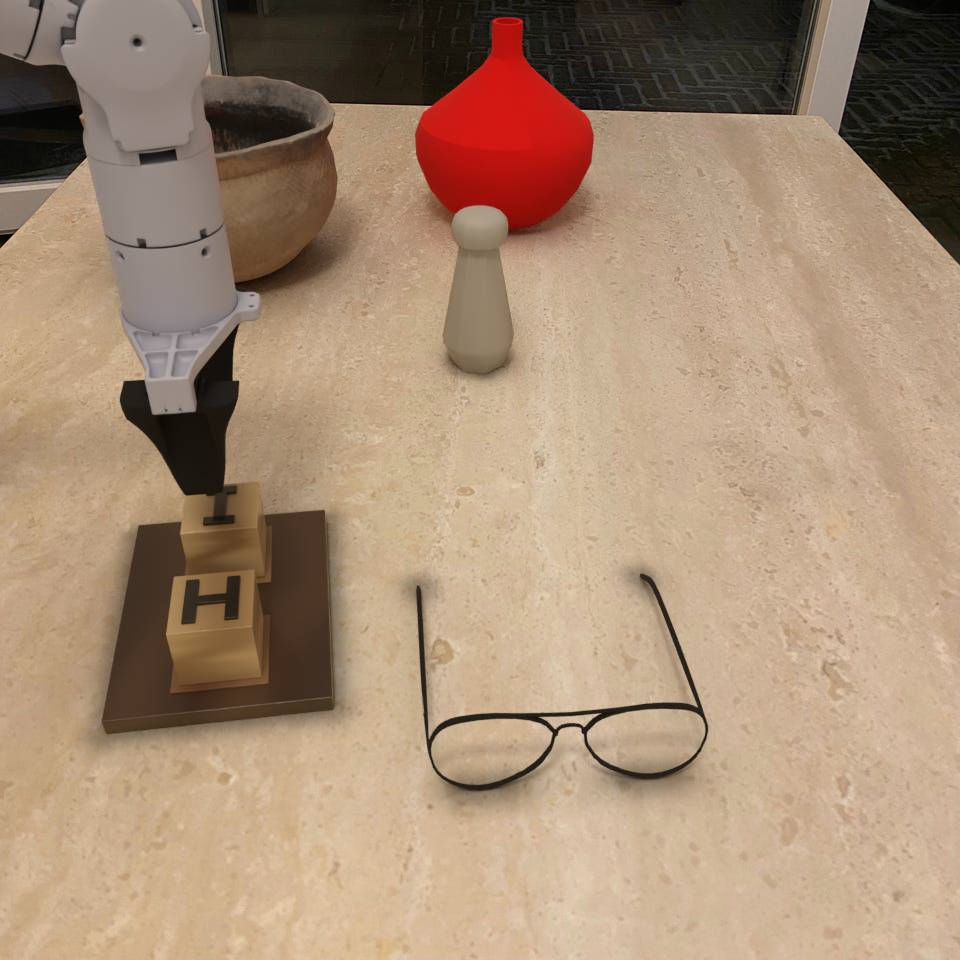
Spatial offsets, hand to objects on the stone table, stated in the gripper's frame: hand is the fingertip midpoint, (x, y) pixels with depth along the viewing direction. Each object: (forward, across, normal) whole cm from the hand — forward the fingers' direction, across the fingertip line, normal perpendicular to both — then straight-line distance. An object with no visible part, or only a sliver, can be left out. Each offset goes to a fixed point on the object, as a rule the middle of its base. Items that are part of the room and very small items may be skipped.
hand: (208, 449), depth 57 cm
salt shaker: (+10, +23, -19) cm, 31 cm away
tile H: (+8, -8, 0) cm, 12 cm away
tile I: (+8, 0, 0) cm, 8 cm away
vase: (+10, +53, -26) cm, 60 cm away
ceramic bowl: (+10, +44, +2) cm, 45 cm away
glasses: (+10, -11, -18) cm, 23 cm away
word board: (+9, -4, 0) cm, 10 cm away
